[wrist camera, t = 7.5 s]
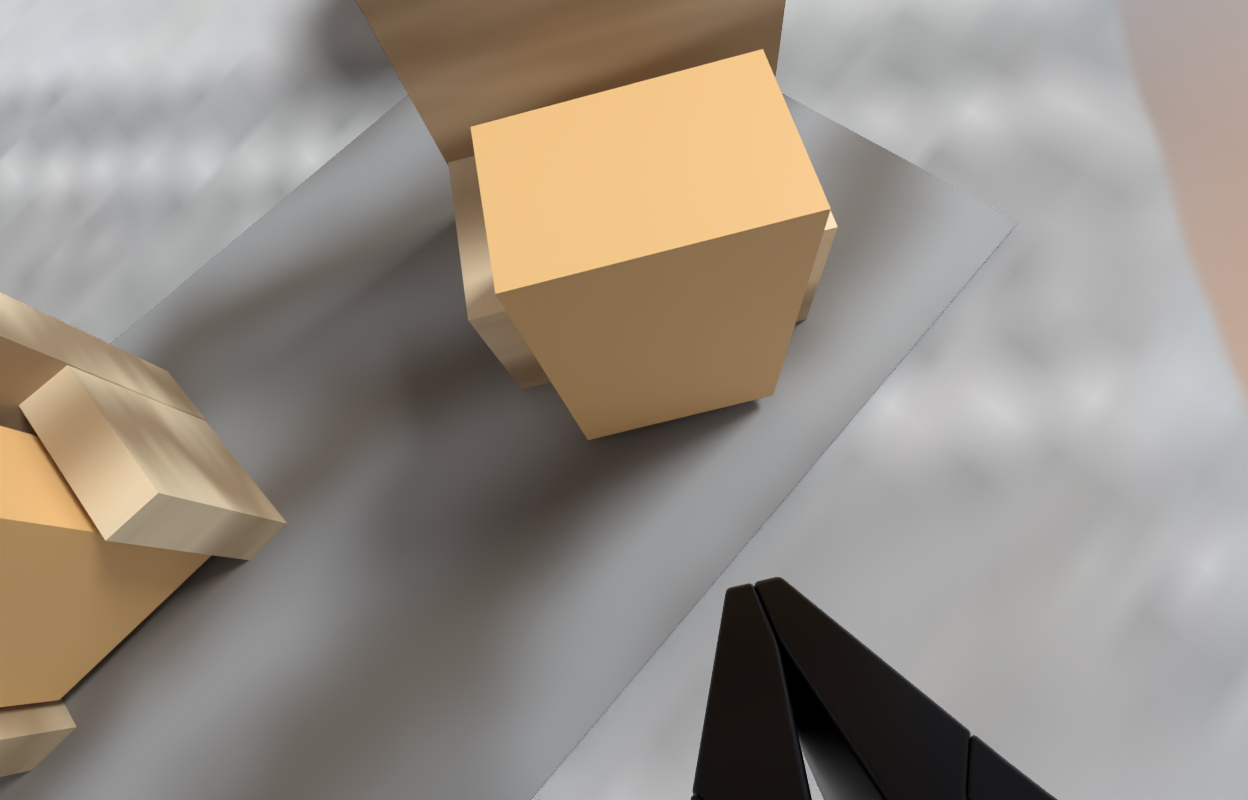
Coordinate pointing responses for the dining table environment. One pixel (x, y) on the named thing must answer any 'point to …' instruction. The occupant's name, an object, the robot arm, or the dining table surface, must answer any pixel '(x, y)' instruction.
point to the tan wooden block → (654, 240)
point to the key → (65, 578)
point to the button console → (432, 446)
